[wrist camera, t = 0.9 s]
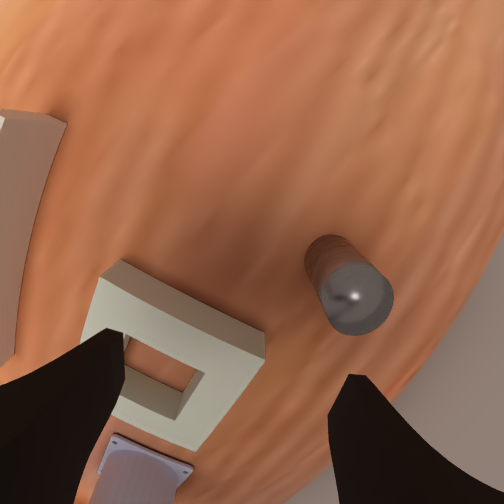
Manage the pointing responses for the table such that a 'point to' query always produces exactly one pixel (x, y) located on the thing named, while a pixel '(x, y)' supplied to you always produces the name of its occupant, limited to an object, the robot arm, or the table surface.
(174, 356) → the socket block
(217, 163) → the table surface
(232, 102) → the table surface
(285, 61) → the table surface
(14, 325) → the board
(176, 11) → the table surface
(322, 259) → the dowel
